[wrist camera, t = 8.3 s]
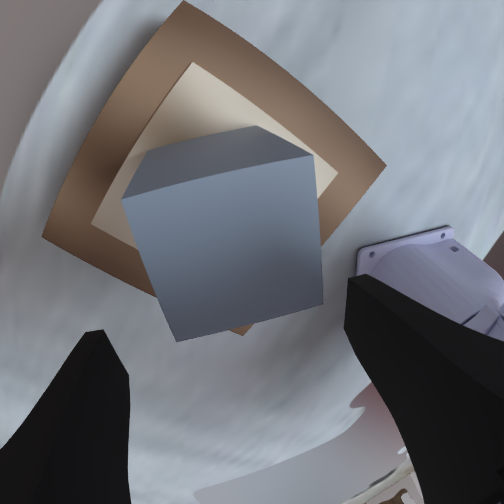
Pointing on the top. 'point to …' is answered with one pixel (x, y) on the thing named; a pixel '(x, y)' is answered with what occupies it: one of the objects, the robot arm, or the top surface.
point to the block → (227, 230)
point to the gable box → (400, 492)
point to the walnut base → (193, 126)
